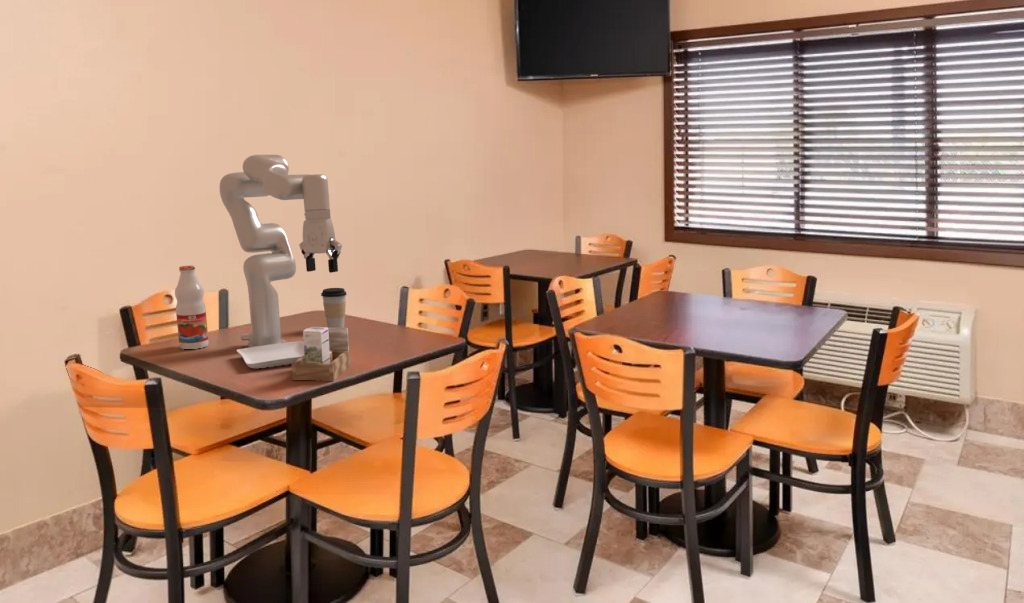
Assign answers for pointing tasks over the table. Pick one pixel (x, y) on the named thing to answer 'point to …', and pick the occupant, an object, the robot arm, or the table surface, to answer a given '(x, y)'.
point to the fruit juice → (190, 311)
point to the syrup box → (316, 345)
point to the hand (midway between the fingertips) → (322, 271)
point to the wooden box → (326, 371)
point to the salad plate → (272, 354)
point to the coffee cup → (334, 306)
